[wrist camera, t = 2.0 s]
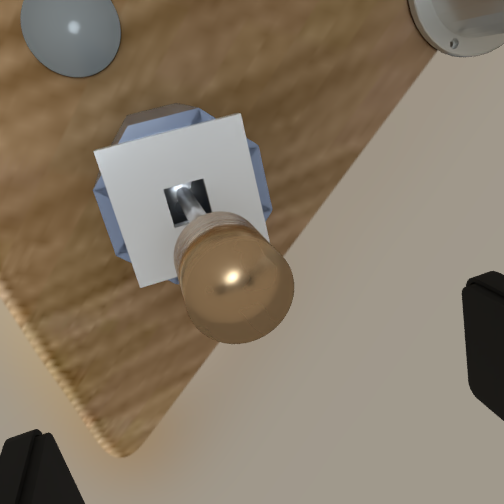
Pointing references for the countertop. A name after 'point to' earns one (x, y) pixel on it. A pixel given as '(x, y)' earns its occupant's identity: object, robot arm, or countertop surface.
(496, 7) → the robot arm
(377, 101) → the countertop surface
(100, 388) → the countertop surface
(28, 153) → the countertop surface
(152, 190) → the press pot
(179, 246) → the plunger
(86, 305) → the countertop surface
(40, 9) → the grey round dome
